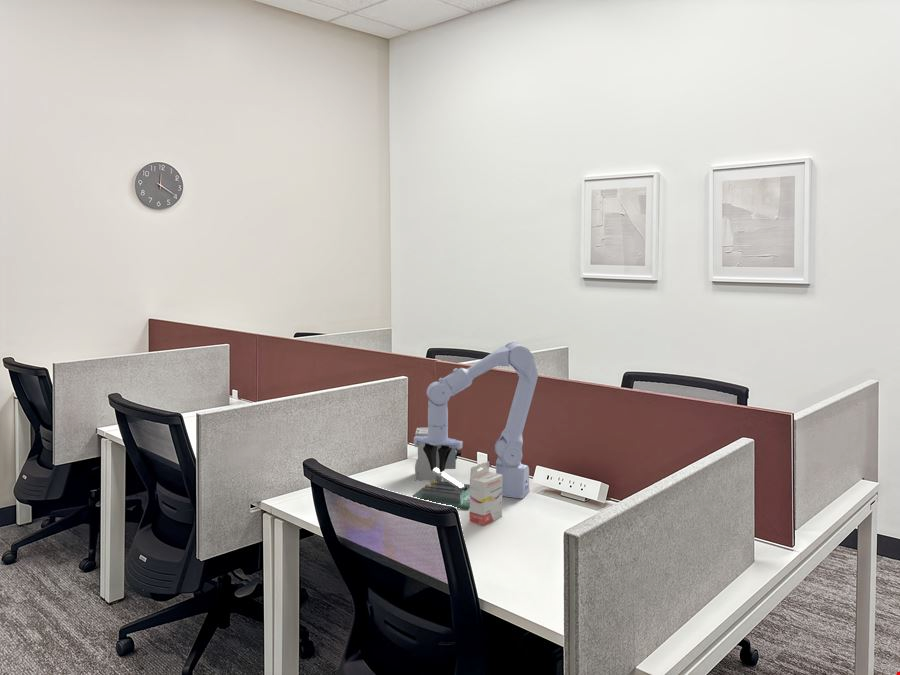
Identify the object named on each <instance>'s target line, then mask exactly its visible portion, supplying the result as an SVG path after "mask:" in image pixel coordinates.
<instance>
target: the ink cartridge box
mask: <svg viewBox="0 0 900 675" xmlns="http://www.w3.org/2000/svg"><path fill="white" fill-rule="evenodd" d="M480 468H481V470H480ZM469 473H470V475H469V485H470V508H469V522H470V523H474V524H477V525H478V526H479V525H480V526H482V527H483V526H486V525H488V524H491V523H492V522H494V521H496V520H498V519H500V517H501V518H503V496H502V481H503V475H501V474H496V472H491V471H490V461H485V462H483V463H480V464H478V465H475V466H474V465H473V466H471V468H470V472H469Z"/></svg>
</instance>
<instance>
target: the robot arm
mask: <svg viewBox="0 0 900 675" xmlns="http://www.w3.org/2000/svg"><path fill="white" fill-rule="evenodd" d="M510 366H511V367H512V368H513V369H514V372H516V374H517V376H518V381H517V385H516V388H515V391H514V396H513V398H512V402H511V405H510V409H509V413H508V417H507V420H506V421H507V422H506V425H505V428H504V429H503V430H502V431H501V434H500V436H499V438H498V439H497V441H496V442H495V444H494V453H495V454H496V456H497V458H496V461H495V473H496V474H501V475H503V481H502V497H507V498H514V499H523V498H524V497H525V496H526V495H527V494H528V493H529V492H530V491H531V489H530V468H529V465H527V464H523V463H522V462H521V461H522V459H523V446H524V445H523V444H524V440H523V438H524V437H523V433H524V429H525V425H526V422H527V417H528V414H529V410H530V407H531V403H532V400H533V396H534V393H535V389H536V387H537V386H536V385H537V382H538V378H539V377H538V376H539V374H538V370H537V366H536V362H535V356H534V355H533V353H532V352H531V351H530V349H529V348H527V347H526V346H524V345H521V344H519V343H518V342H514V341H512V342H508V343H507V344H505V345H503V346H500V347H498V348H497V349H495V350H494V351H492V352H491V353H489V354H488V355H487V356H485V357H484V358H481V360H478V361H477V362H475V363H474V364H472V365H471V366H470V367H467V368H464V367H459V368H457V367H456V368H455V367H454V369H452V372H451V373H449V374H448V375H446V376H444V377H443V378H442V377H440V378H439V379H438V381H433V382H432V383H430V384H429V385H428V387H427V389H426V392H425V393H426V397H427V398H428V402H427V405H428V407H427V428H428V436H414V437H413V444H414V445H415V444H425V447H424V448H423V450H424V452H425V454H426V456H427V458H428V461H429V464H430V468H431V471H432V470H433V469H434V468H436V453H437V446H441V448H439V449H438V453H439V470H440V472H445V470H446V469H445V465H446V461H447V458H448V456H449V454H450V452H451V450H452V448H457V450H462V448H463V445H464V444H463V443H464V441H463V440H457V439H456V440H454V439H455V438H450V437H449V436H448V435H449V433H448V432H449V430H448V429H449V421H448V420H449V409H448V408H449V407H448V402H449V401H450V399H451V397H453V396H455V395H457V394H458V393H460V392H462V391H463V390H465V389H467V388H468V387H470V386H472V383H473V380H474V379H475V378H476V377H480V376H481V375H483V374H485V373H487V372H488V371H490V370H492V369H494V368H496V367H510Z"/></svg>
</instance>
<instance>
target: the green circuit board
mask: <svg viewBox="0 0 900 675" xmlns="http://www.w3.org/2000/svg"><path fill="white" fill-rule="evenodd" d="M462 484H463V485H465V486H466V488H465V489H464V490H459V489H458V488H456V487H455V486H453V485H452V484H450V483H448V482H447V481H445V480H444V481H443V480H441V481H438V480H432V481H430V484H428V483H427V484H425V485H424V486H423V487H422V488H421V489H419V490H418V491H416V492H415V493H413V495H411V496H413V497H417V498H420V499H424V500H429V501H432V502H436V503H441V504H446V505H452V506H454V507H457V508H460V509H459V510H464V511H465V510H467V511H469V510H470V483H469V484H467V483H462ZM457 508H456V509H457Z"/></svg>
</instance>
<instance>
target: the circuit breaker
mask: <svg viewBox="0 0 900 675" xmlns="http://www.w3.org/2000/svg"><path fill="white" fill-rule="evenodd" d="M414 435H415V436H428V427H416V430H415V433H414ZM415 436H414V437H415ZM453 439H454V440H457V439H456V438H453ZM414 447H415V448H417V458H416V459H415V460H416V462H415V464H414V481H415V482H416V481H420V482H423V481H424V482H425V481H427V482H428V481H429V482H431V481H432V480H438V481H443V479H442V478H441V477H439V476H438V475H436V474H435V473H433V472H432V471H431V468H430V464H429V461H428V458H427V456H426V454H425V452H424V450H423V448H424V447H425V444H414ZM439 448H441V446H437V453H436V467H437V468H438V469H439V453H438V449H439ZM458 457H462V449H457V448H452V450H451V452H450V454H449V456H448V458H447V461H446V465H445V470H456V465H457V460H458Z"/></svg>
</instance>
